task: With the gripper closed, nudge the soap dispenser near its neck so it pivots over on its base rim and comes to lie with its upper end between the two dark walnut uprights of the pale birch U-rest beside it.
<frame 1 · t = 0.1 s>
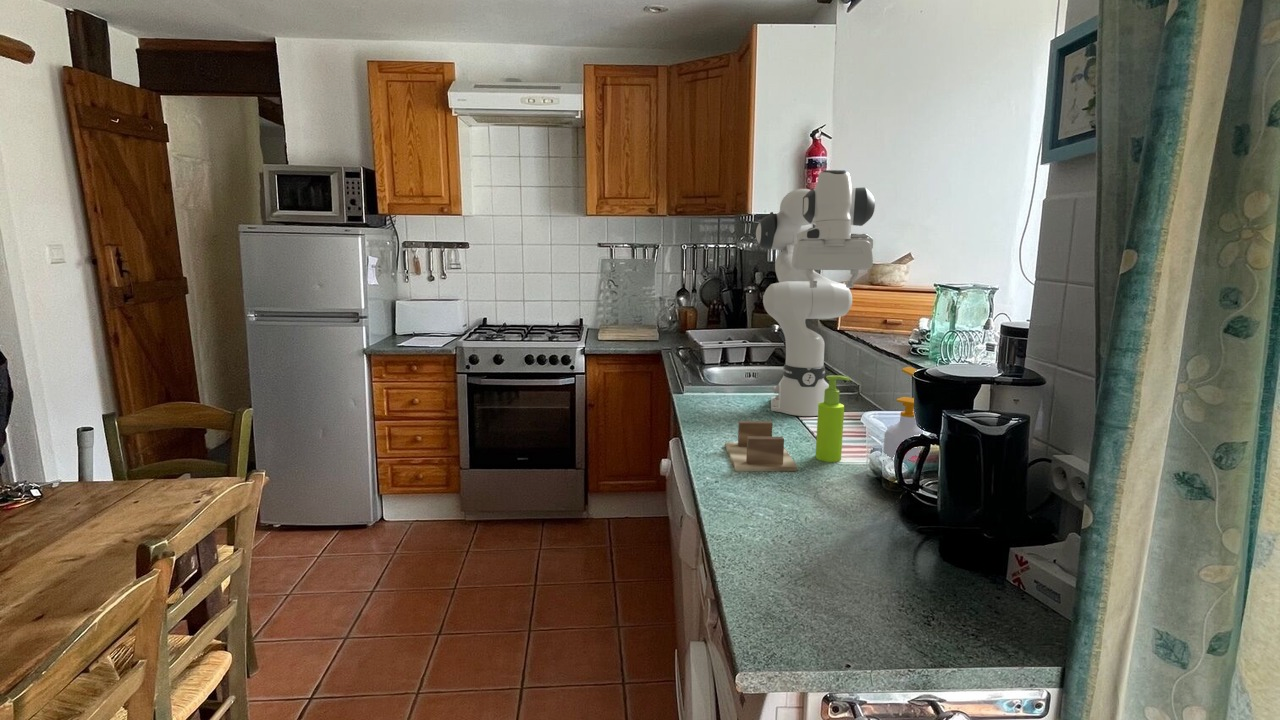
hand: (831, 287, 174), 39 cm above the countertop, tool pointing down, fingers open, 8 cm apart
u rest: (759, 458, 160), on the countertop
soap bottle: (903, 479, 147), on the countertop
soap dispenser: (830, 458, 161), on the countertop
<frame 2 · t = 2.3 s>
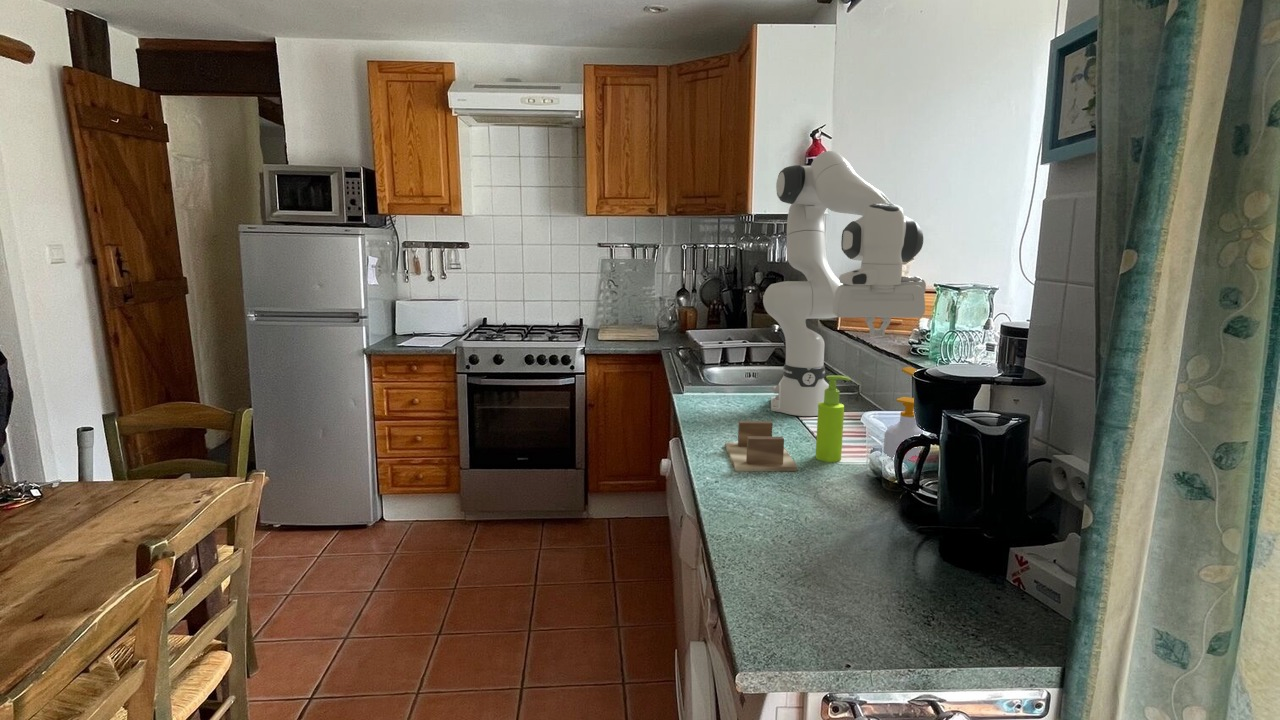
hand: (876, 336, 155), 29 cm above the countertop, tool pointing down, fingers closed
nothing on the countertop moved.
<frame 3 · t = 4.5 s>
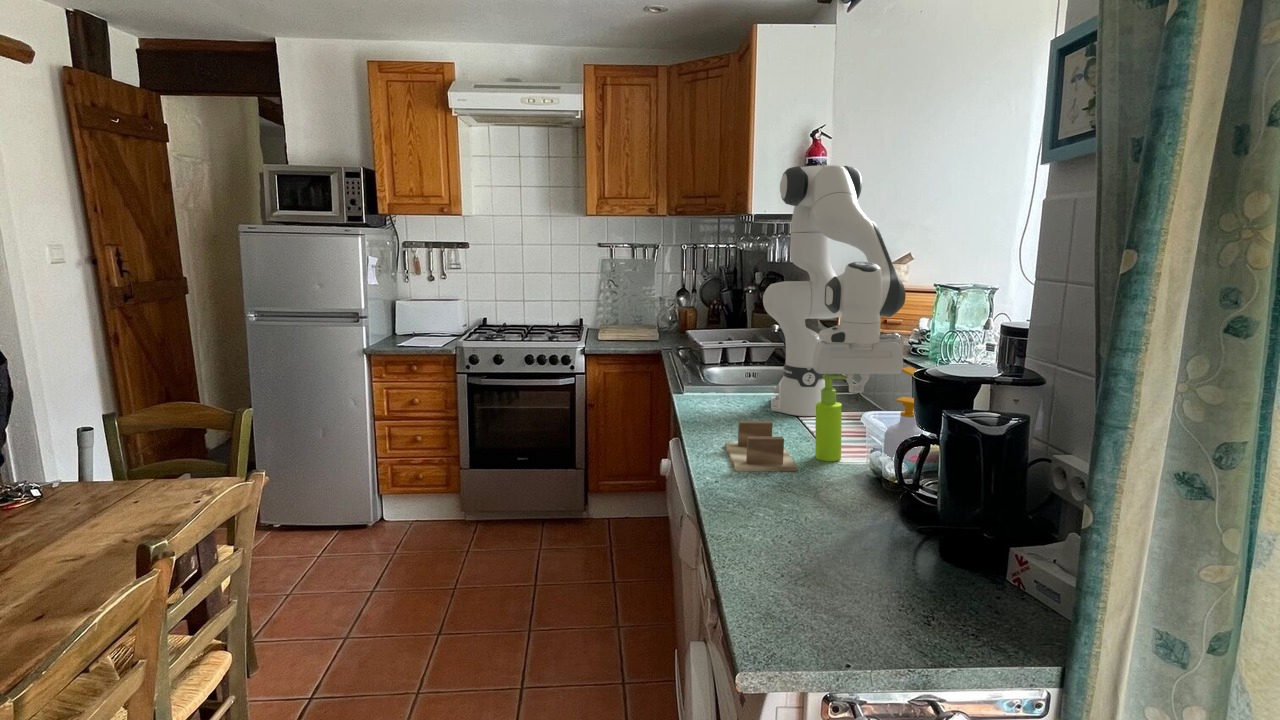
hand: (855, 392, 158), 16 cm above the countertop, tool pointing down, fingers closed
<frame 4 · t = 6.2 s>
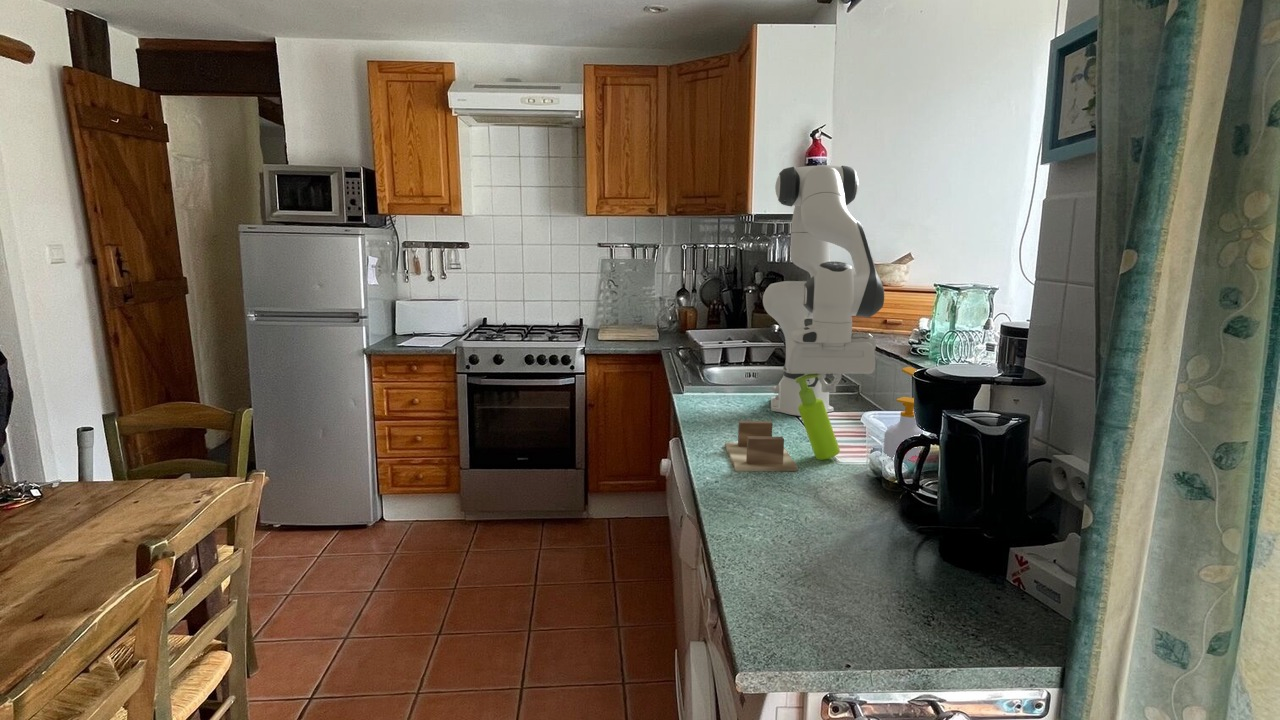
hand: (828, 392, 158), 16 cm above the countertop, tool pointing down, fingers closed
soap dispenser: (830, 453, 160), point 1 cm above the countertop
everything else where it was.
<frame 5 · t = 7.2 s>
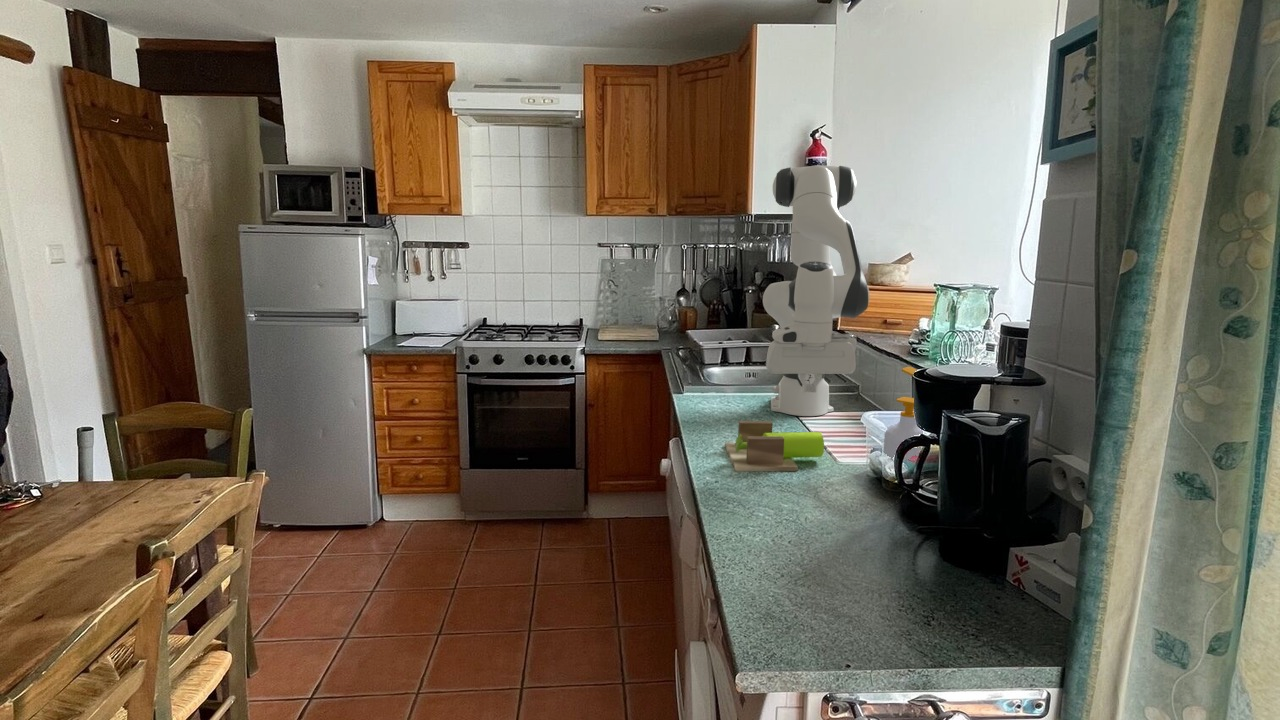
hand: (809, 392, 158), 16 cm above the countertop, tool pointing down, fingers closed
soap dispenser: (821, 443, 158), point 4 cm above the countertop, touching u rest
everything else where it was.
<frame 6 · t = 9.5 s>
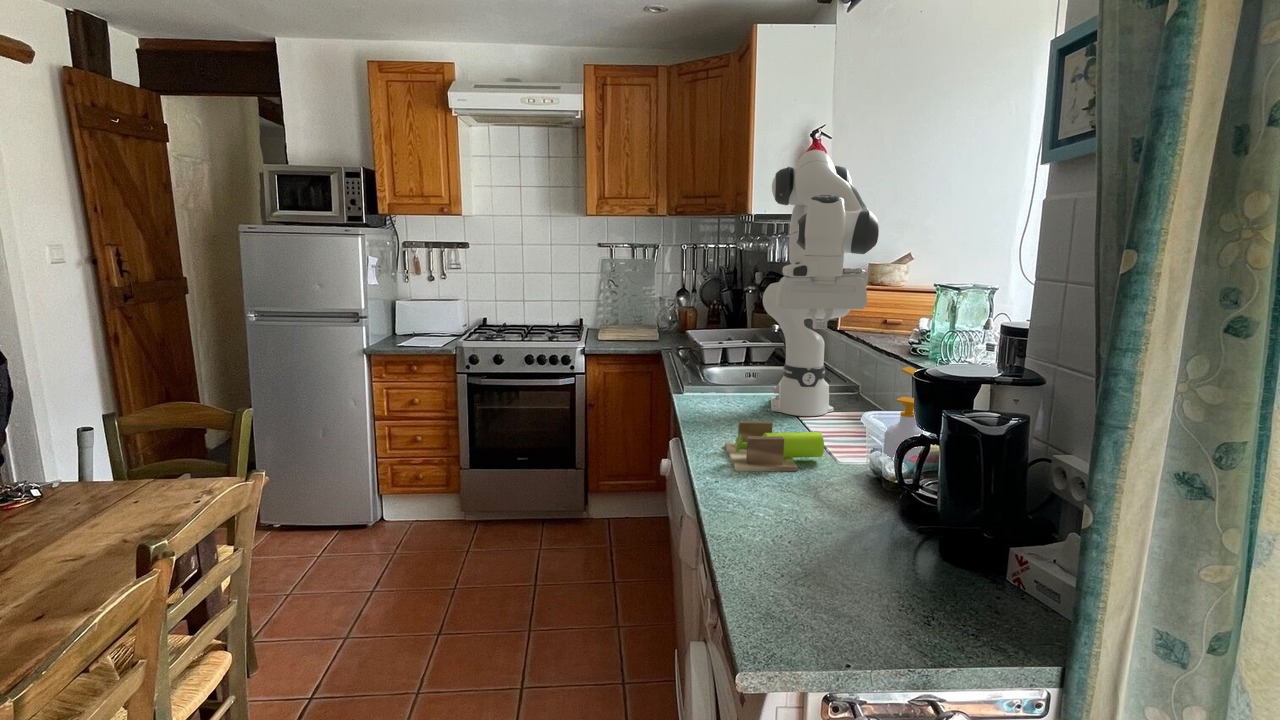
hand: (819, 328, 156), 31 cm above the countertop, tool pointing down, fingers closed
nothing on the countertop moved.
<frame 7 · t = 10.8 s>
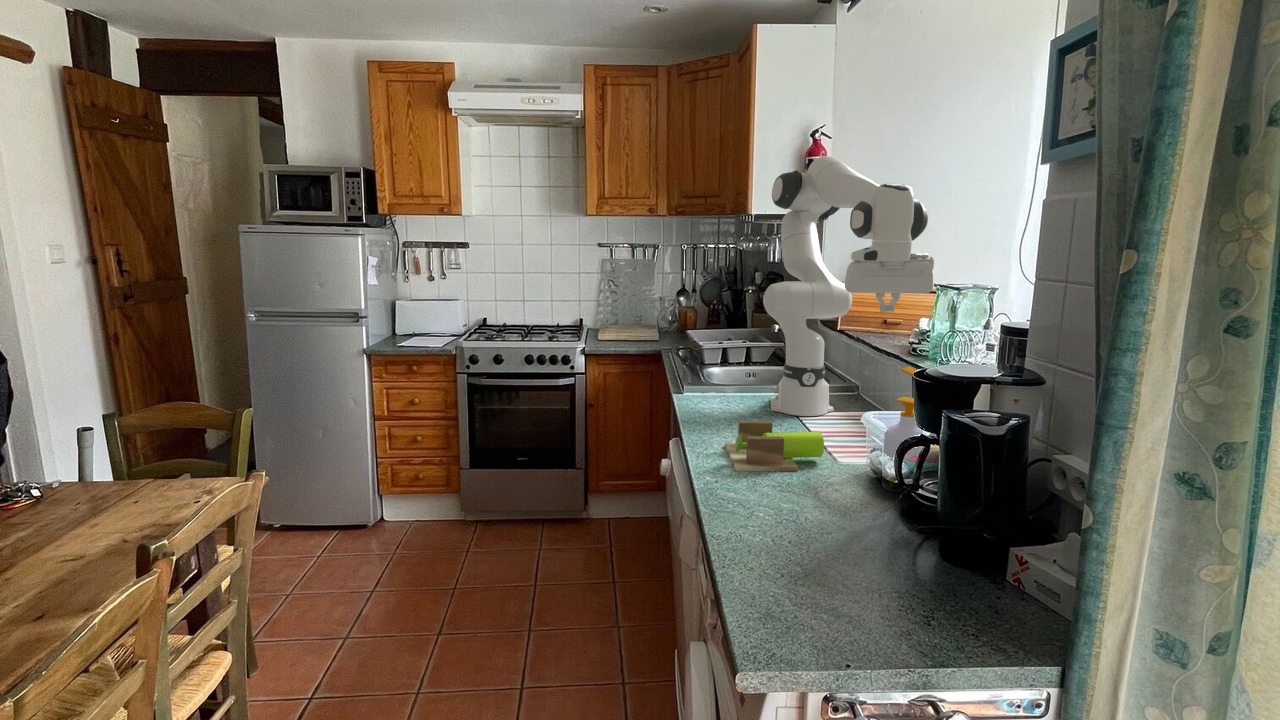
hand: (886, 311, 162), 34 cm above the countertop, tool pointing down, fingers closed
nothing on the countertop moved.
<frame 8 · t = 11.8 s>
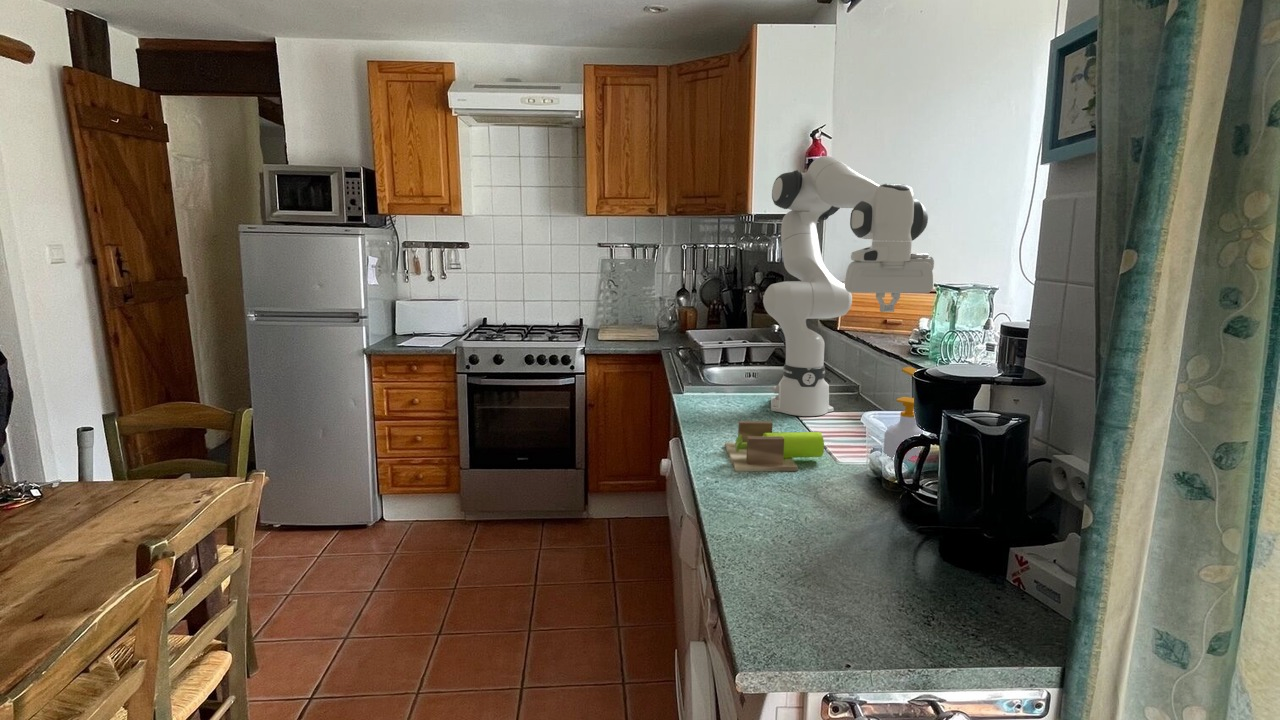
hand: (886, 311, 162), 34 cm above the countertop, tool pointing down, fingers closed
nothing on the countertop moved.
at the end: soap dispenser tilted 90°; soap dispenser touching u rest; soap dispenser inside the target area (2.2 cm from its centre), point 4.3 cm above the countertop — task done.
